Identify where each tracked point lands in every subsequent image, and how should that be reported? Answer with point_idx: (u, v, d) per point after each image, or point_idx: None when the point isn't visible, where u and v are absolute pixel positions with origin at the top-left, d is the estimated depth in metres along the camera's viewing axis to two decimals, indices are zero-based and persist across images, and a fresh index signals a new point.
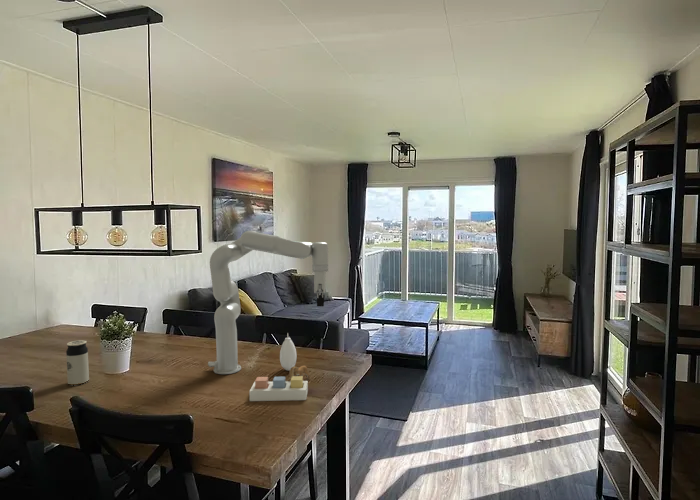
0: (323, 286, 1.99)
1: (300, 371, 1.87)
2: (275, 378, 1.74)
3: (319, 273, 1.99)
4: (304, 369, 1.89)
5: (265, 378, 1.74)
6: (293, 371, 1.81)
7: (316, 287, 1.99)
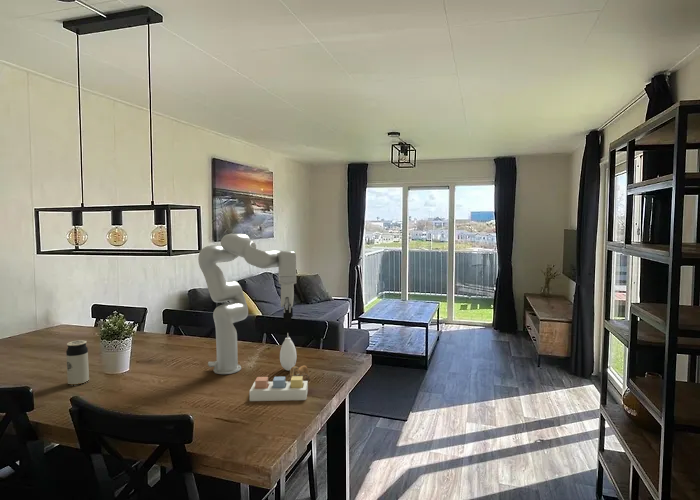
0: (290, 300, 1.80)
1: (300, 371, 1.87)
2: (275, 378, 1.74)
3: (286, 285, 1.80)
4: (304, 369, 1.90)
5: (265, 378, 1.74)
6: (293, 371, 1.81)
7: (283, 301, 1.80)
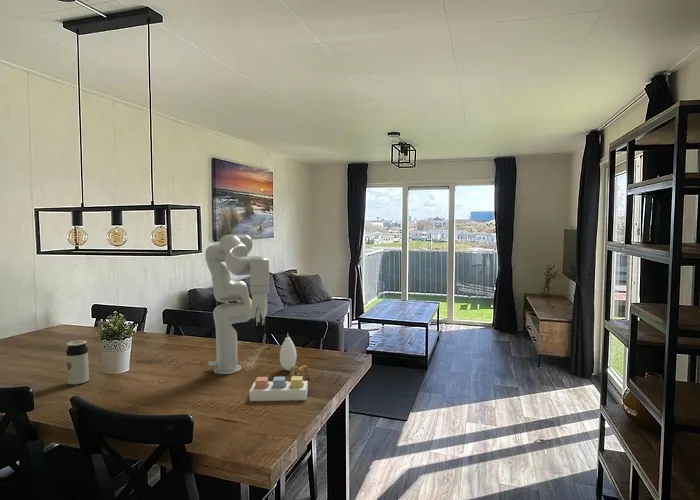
0: (262, 310, 1.67)
1: (301, 371, 1.87)
2: (275, 378, 1.74)
3: (257, 295, 1.67)
4: (305, 369, 1.90)
5: (265, 378, 1.74)
6: (294, 370, 1.82)
7: (253, 312, 1.67)
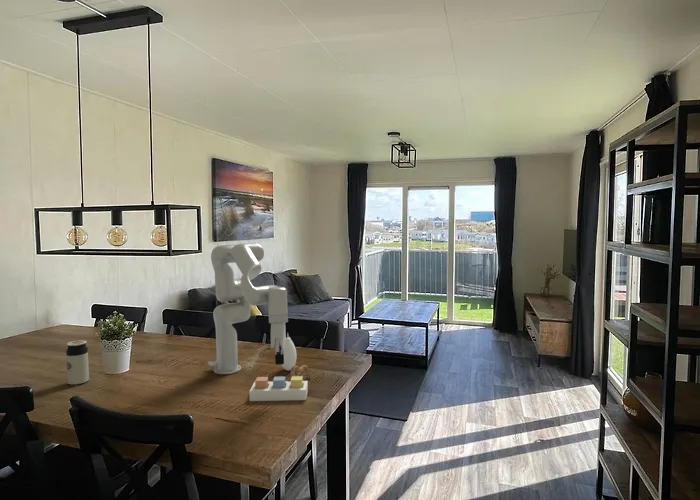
0: (281, 340, 1.68)
1: (301, 370, 1.87)
2: (275, 378, 1.74)
3: (276, 325, 1.68)
4: (305, 368, 1.90)
5: (265, 378, 1.74)
6: (294, 370, 1.82)
7: (272, 342, 1.68)
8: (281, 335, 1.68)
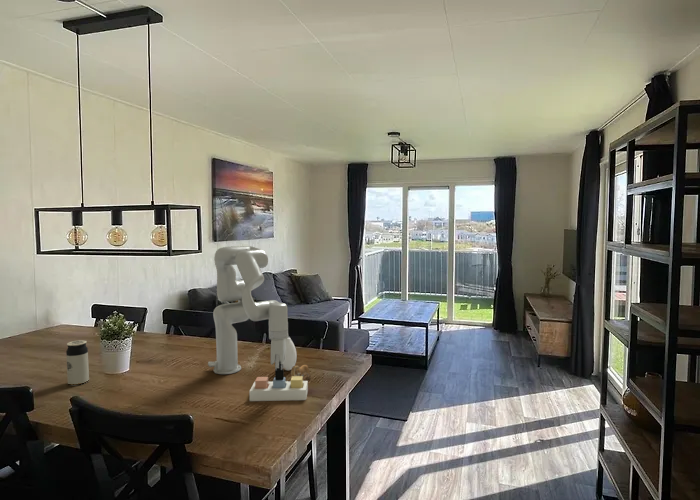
0: (281, 357, 1.68)
1: (301, 370, 1.88)
2: None
3: (276, 341, 1.68)
4: (305, 368, 1.90)
5: (265, 378, 1.74)
6: (294, 370, 1.82)
7: (272, 358, 1.68)
8: (281, 351, 1.68)
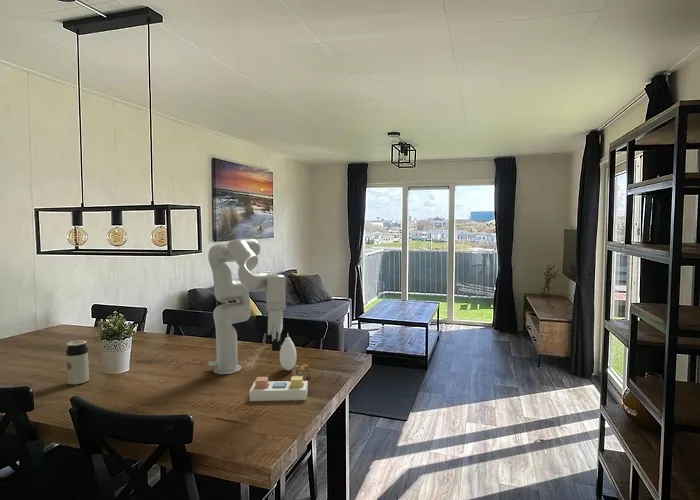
0: (278, 328, 1.69)
1: (302, 370, 1.88)
2: (275, 384, 1.74)
3: (273, 312, 1.69)
4: (306, 368, 1.91)
5: (265, 378, 1.74)
6: (295, 370, 1.83)
7: (270, 329, 1.68)
8: (278, 322, 1.69)
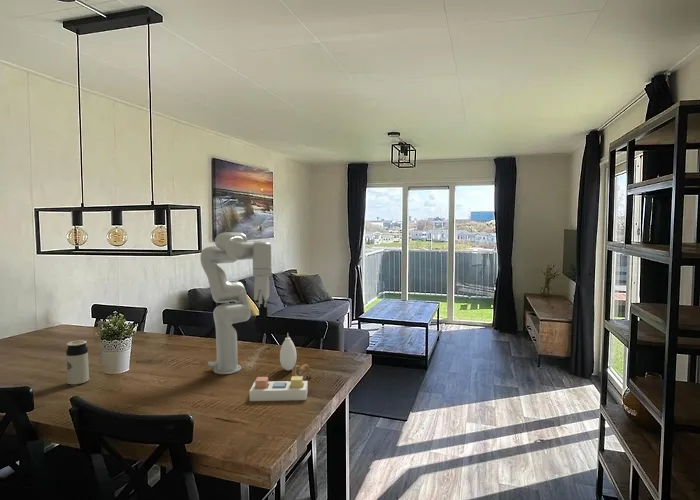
0: (264, 293, 1.73)
1: (302, 370, 1.88)
2: (275, 384, 1.74)
3: (259, 278, 1.73)
4: (306, 368, 1.91)
5: (265, 378, 1.74)
6: (296, 370, 1.83)
7: (256, 294, 1.73)
8: (264, 287, 1.73)
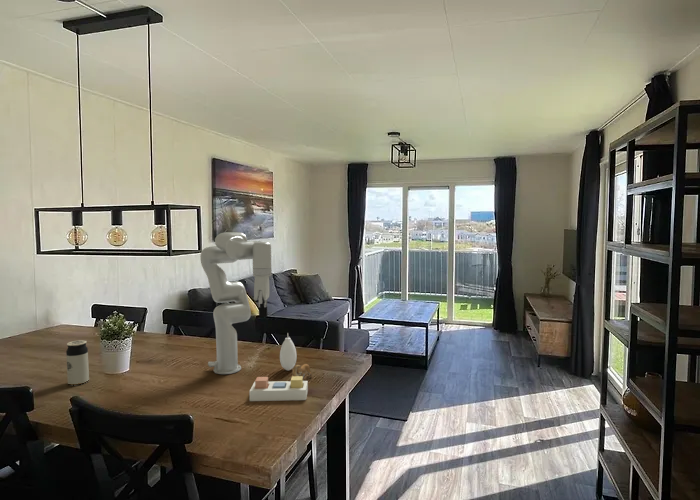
0: (264, 293, 1.73)
1: (303, 369, 1.89)
2: (275, 384, 1.74)
3: (259, 278, 1.73)
4: (306, 367, 1.91)
5: (265, 378, 1.74)
6: (296, 369, 1.83)
7: (256, 294, 1.73)
8: (264, 287, 1.73)
